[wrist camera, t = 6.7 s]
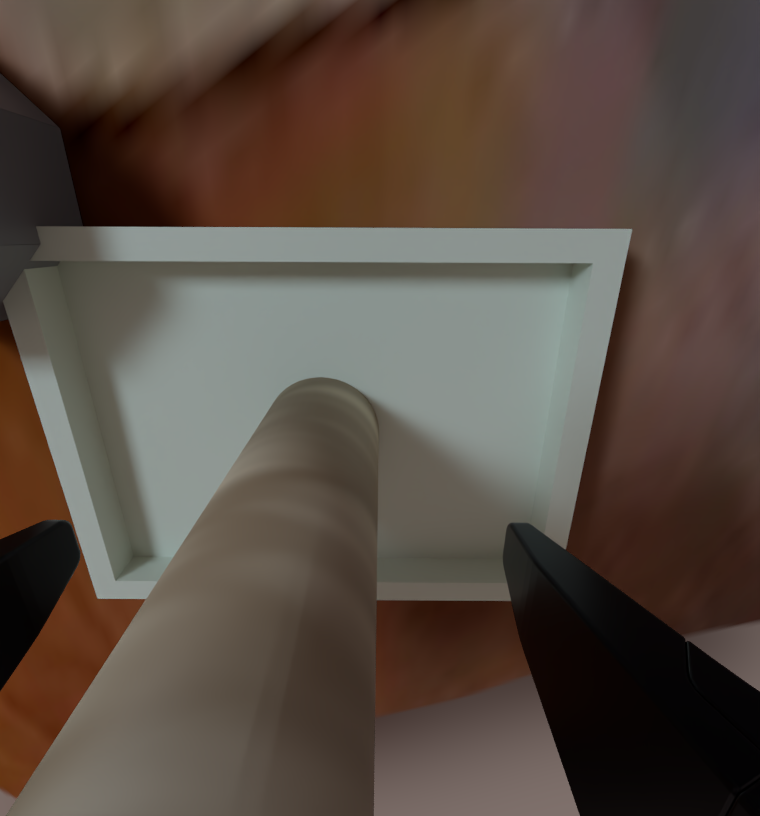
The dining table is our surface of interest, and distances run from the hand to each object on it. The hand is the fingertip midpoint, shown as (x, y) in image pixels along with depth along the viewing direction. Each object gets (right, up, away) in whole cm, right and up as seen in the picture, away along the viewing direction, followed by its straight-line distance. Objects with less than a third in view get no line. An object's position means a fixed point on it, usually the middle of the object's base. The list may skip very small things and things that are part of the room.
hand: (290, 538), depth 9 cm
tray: (0, +2, +6) cm, 6 cm away
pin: (0, +2, +5) cm, 5 cm away
